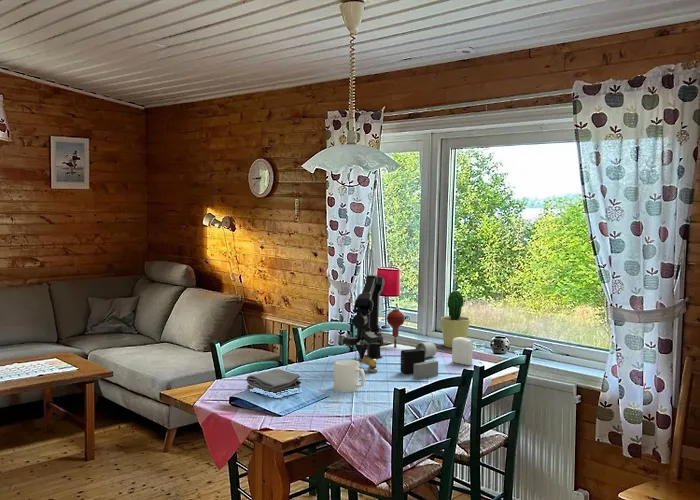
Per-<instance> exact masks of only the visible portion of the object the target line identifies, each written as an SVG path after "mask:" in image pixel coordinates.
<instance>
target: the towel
mask: <svg viewBox="0 0 700 500" xmlns="http://www.w3.org/2000/svg"><path fill="white" fill-rule="evenodd" d="M300 378H301V375H300V374H299V373H294V372H291V371H286V370H282V369H280V368H279V369H278V368H275V369H271V370H268V371H262V372H259V373H254V374H250V375H248V376H247V377H246V383H247V386H246V390H247V391H249V389H253V388H259V389H262V390H264V391H268V392H273V393H277V392H280V393H277V394H276V395H278V394H281V393H285V392H288V391H285V390H288V389H294V388H301V384H302V381H301V380H299V379H300ZM281 391H285V392H281Z"/></svg>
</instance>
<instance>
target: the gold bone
mask: <svg viewBox="0 0 700 500" xmlns="http://www.w3.org/2000/svg"><path fill="white" fill-rule="evenodd" d="M359 363H363V364H364V365H367V366H368V368H377V358H376V359H374V358H371V357H369V356H367V354H366V353H365V354H364V357H363V359H361V358H360V357H359Z"/></svg>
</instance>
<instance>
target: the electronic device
mask: <svg viewBox="0 0 700 500" xmlns="http://www.w3.org/2000/svg"><path fill="white" fill-rule="evenodd" d="M425 359H426V358H425V351H424V350H422V349H415V348H411V349H402V350H401V351H400V370H399V371H400V372H401V373H402V374H405V375H413V373H414V364H416V363H421V362H426V361H425Z"/></svg>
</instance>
